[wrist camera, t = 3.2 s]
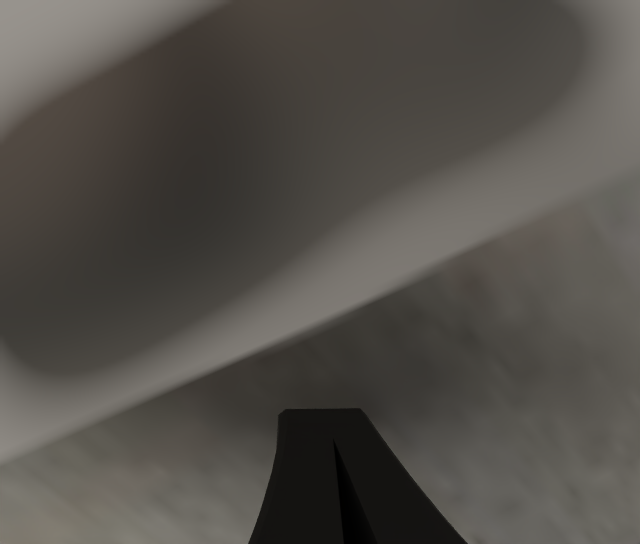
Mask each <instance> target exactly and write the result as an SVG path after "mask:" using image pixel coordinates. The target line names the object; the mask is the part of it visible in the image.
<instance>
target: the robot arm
mask: <svg viewBox="0 0 640 544" xmlns="http://www.w3.org/2000/svg"><path fill="white" fill-rule="evenodd" d="M248 544H468V543H467V542H466V541H465V540H464V539H463V538H462V537H461V536H460V535H459V534H458V532H457V531H456V530H455V529H454V528H453V527H452V526H451V524H450V523H449V522H448V521H447V520H446V519H445V518H444V516H443V515H442V514H441V513H440V512H439V510H438V509H437V508H436V507H435V506H434V504H433V503H432V502H431V501H430V499H429V498H428V497H427V496H426V495H425V493H424V492H423V491H422V490H421V488H420V487H419V486H418V485H417V483H416V482H415V481H414V480H413V478H412V477H411V476H410V475H409V473H408V472H407V471H406V469H405V468H404V467H403V465H402V464H401V463H400V461H399V460H398V459H397V457H396V456H395V455H394V453H393V452H392V451H391V449H390V448H389V447H388V445H387V444H386V442H385V441H384V440H383V438H382V437H381V435H380V434H379V433H378V431H377V430H376V428H375V427H374V425H373V424H372V422H371V421H370V420H369V418H368V417H367V415H366V414H365V413H364V412H363V411H362V410H361V409H360V408H349V409H286V410H284V411H283V412H282V413H280V414H279V415H278V432H277V450H276V455H275V460H274V464H273V469H272V473H271V476H270V480H269V483H268V487H267V490H266V494H265V497H264V501H263V504H262V507H261V510H260V513H259V516H258V519H257V522H256V525H255V527H254V530H253V533H252V535H251V538H250V541H249V543H248Z"/></svg>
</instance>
